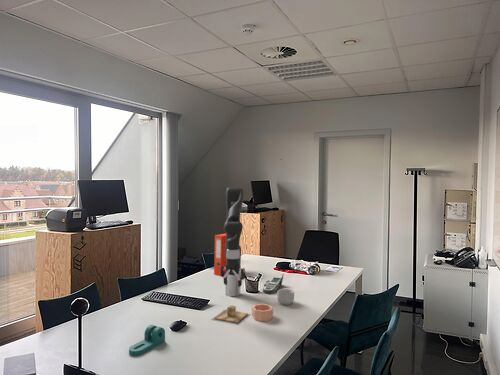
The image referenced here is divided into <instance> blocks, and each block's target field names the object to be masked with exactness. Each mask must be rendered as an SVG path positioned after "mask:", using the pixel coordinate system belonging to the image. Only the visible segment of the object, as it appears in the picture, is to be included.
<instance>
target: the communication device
mask: <svg viewBox="0 0 500 375" xmlns="http://www.w3.org/2000/svg"><path fill="white" fill-rule="evenodd" d="M283 280H284V273H282V275H281V277H273V278H267V279H266V280H265V281H264V283H263V288H262V292H263V293H264V294H266V295H267V294H268V295H273V294H274V293H275V292H277V291H278V289H279V288H281V287H282V286H283V285H282V284H283Z"/></svg>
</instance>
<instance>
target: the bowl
mask: <svg viewBox="0 0 500 375" xmlns="http://www.w3.org/2000/svg"><path fill="white" fill-rule="evenodd" d="M273 317H274V307H273V306H272V305H270V304H267V303H266V304H265V303H259V304H254V305H253V306H251V318H252V319H253V320H254V321H258V322H268V321H271V320H272V319H273Z"/></svg>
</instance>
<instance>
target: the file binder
mask: <svg viewBox="0 0 500 375" xmlns="http://www.w3.org/2000/svg"><path fill="white" fill-rule="evenodd" d="M225 244H226V233H225V232H224V233H221V234H214V254H213V255H214V256H213V257H214V260H213V262H214V264H213V271H214V272H213V274H214V275H215V276H218V277H221V267H222V266H225V267H226V257H225ZM226 272H227V270H226V269H225V273H224V275H225V274H226Z"/></svg>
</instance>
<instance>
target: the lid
mask: <svg viewBox="0 0 500 375" xmlns="http://www.w3.org/2000/svg"><path fill="white" fill-rule="evenodd" d="M224 310H225V311H224ZM224 310H223V312H222V311H221V312H222V313H221V312H220V313H221V314H220V313H218V314H219V315H218V314H217V315H218V316H217V315H216V317H215V316H214V317H215V319H216V320H221V321H226V322H232V323H239V322H240V321H241V320H242V319H243V318H245V317H246V316H247V315H248V314H249V313H248V312H243V311H237V306H235V305H228V306H227V309H224Z"/></svg>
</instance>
